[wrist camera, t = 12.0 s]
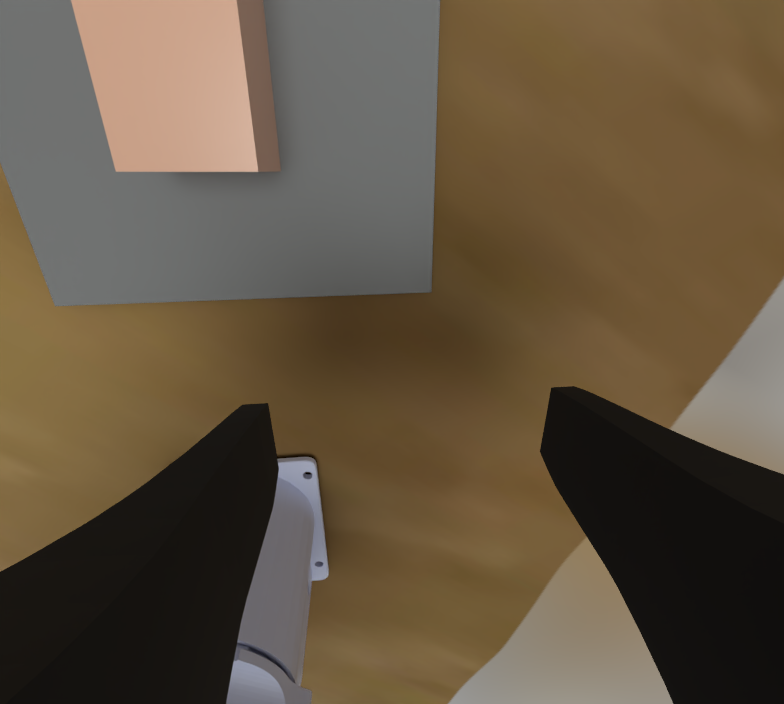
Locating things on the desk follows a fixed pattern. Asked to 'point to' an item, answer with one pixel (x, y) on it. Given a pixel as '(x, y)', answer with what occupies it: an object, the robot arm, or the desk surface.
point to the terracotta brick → (182, 83)
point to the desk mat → (234, 189)
